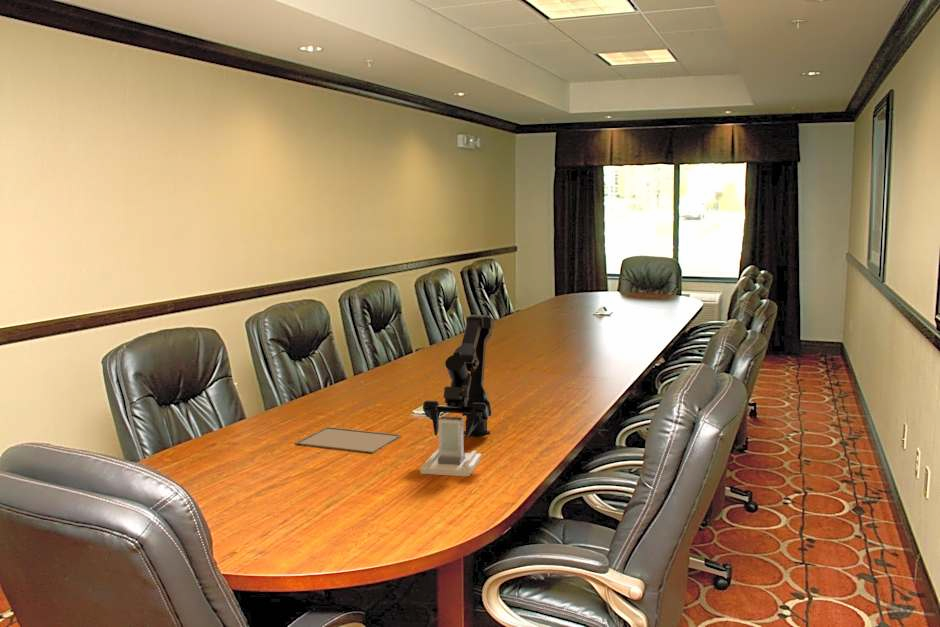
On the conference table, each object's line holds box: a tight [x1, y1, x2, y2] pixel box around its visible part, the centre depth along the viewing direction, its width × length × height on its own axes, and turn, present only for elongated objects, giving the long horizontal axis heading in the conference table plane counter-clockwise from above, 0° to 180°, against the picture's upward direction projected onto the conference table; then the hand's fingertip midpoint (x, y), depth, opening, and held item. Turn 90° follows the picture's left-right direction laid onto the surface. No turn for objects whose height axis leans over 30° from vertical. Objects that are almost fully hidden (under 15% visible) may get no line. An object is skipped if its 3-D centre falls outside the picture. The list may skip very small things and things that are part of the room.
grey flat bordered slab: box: [294, 426, 403, 454], centre depth 266 cm, size 19×1×28 cm
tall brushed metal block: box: [438, 416, 466, 465], centre depth 239 cm, size 6×6×12 cm
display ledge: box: [419, 448, 482, 477], centre depth 240 cm, size 16×14×3 cm
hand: (451, 436), depth 239 cm, fingers open, 9 cm apart
